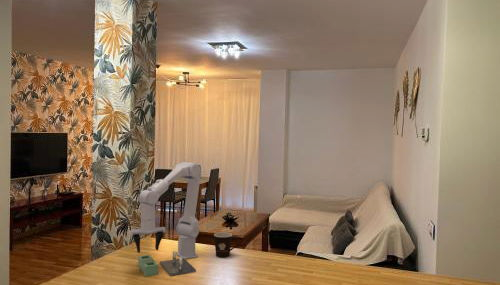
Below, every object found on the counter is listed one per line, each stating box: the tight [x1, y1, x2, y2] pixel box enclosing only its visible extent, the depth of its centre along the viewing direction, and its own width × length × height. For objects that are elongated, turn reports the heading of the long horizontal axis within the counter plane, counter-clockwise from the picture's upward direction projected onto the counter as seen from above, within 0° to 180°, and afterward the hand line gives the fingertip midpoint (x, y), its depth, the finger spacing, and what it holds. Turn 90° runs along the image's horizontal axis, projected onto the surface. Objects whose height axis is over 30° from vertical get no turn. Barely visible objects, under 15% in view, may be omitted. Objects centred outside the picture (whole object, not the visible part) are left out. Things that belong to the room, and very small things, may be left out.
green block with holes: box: [137, 254, 159, 277], centre depth 166 cm, size 14×5×4 cm, turn 28°
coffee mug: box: [213, 231, 241, 259], centre depth 185 cm, size 12×9×10 cm
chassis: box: [159, 250, 197, 277], centre depth 169 cm, size 16×11×6 cm
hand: (147, 250), depth 166 cm, fingers open, 7 cm apart
